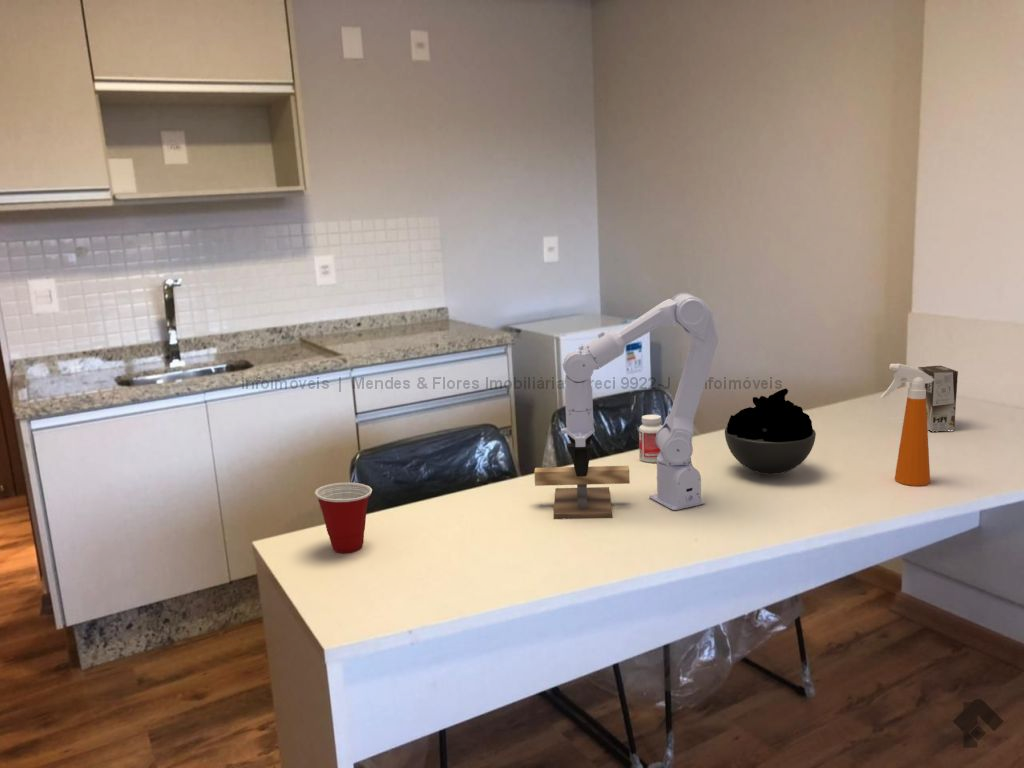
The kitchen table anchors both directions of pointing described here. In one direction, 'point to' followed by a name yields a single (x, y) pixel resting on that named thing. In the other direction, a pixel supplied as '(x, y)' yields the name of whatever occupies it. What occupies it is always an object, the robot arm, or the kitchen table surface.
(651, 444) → the pill bottle
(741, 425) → the bowl of black rocks
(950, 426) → the coffee box
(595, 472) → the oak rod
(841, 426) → the kitchen table surface
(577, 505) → the ridge stand
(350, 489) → the plastic cup
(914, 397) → the spray bottle
